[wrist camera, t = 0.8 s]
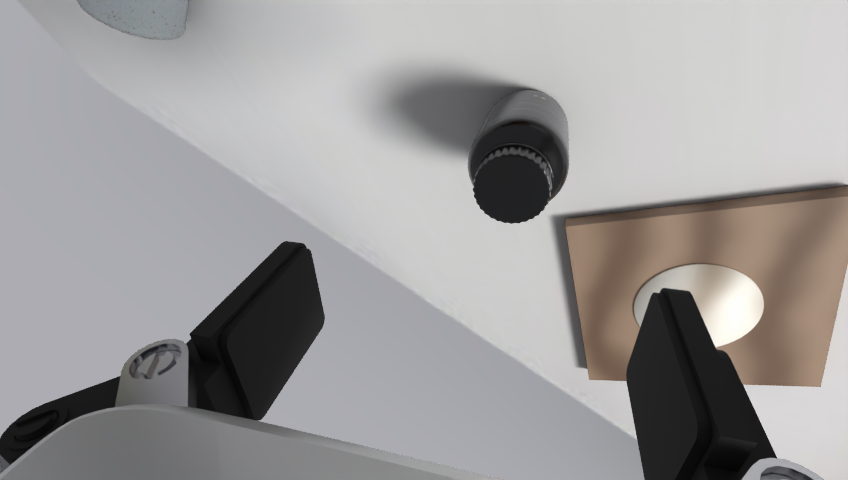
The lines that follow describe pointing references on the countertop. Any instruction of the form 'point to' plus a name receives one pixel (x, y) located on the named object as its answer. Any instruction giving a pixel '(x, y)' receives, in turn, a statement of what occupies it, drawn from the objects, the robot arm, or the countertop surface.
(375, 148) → the countertop surface
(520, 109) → the supplement bottle
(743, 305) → the walnut board
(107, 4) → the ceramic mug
